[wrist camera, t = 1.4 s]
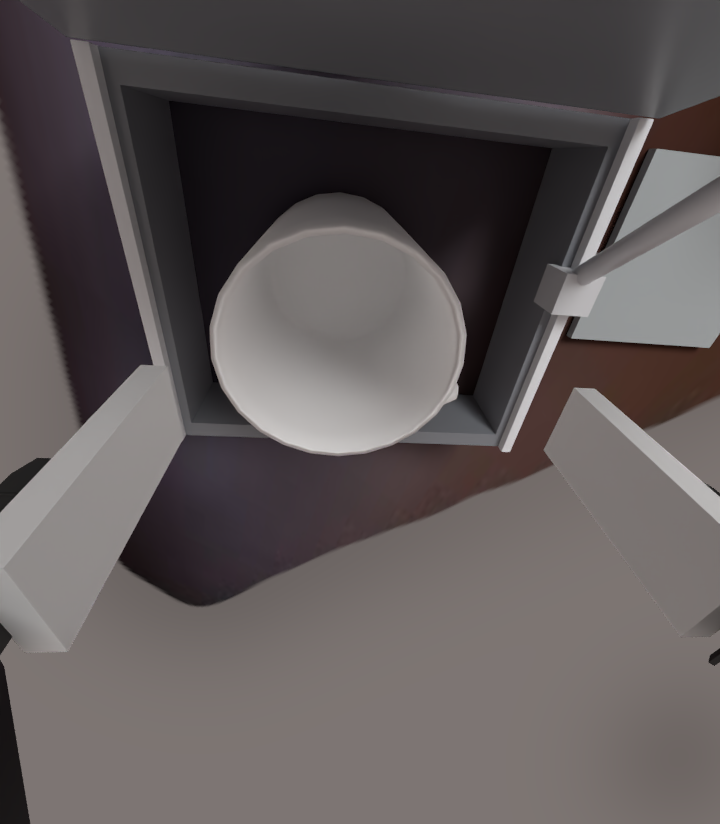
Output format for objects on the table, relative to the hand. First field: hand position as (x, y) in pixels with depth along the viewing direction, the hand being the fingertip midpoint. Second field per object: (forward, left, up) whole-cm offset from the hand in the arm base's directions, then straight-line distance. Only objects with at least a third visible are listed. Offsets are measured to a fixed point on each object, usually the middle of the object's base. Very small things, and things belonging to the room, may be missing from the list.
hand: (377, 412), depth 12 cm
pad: (-3, +21, -14) cm, 25 cm away
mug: (0, 0, -14) cm, 14 cm away
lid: (-11, 0, +1) cm, 11 cm away
